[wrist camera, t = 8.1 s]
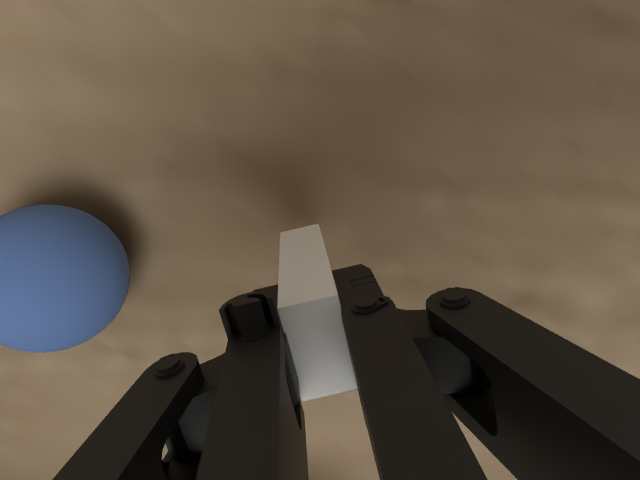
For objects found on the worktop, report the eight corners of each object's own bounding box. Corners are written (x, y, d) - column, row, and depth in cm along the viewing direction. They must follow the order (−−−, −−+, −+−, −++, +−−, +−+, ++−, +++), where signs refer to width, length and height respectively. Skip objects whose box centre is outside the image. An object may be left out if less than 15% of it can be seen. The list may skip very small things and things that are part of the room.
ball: (-71, 225, 18) (85, 192, 22) (-18, 358, 19) (120, 305, 23) (-69, 228, 14) (127, 186, 17) (0, 401, 15) (168, 327, 19)
